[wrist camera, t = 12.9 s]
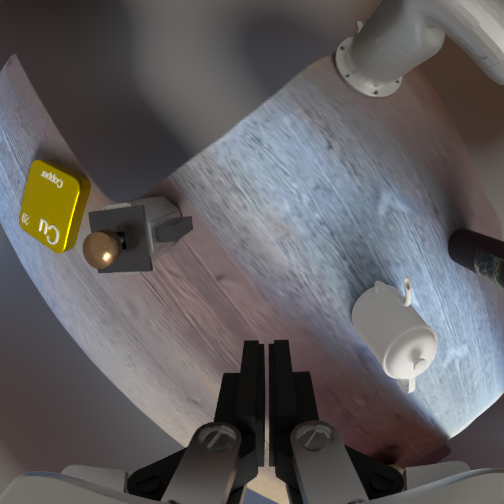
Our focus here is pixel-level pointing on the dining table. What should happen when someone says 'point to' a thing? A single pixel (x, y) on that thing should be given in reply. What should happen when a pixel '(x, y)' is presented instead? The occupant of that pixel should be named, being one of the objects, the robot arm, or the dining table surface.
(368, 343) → the coffeepot
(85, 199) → the element tile
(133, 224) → the grey faceted container
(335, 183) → the dining table surface
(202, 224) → the dining table surface
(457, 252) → the wine bottle
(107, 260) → the plunger
